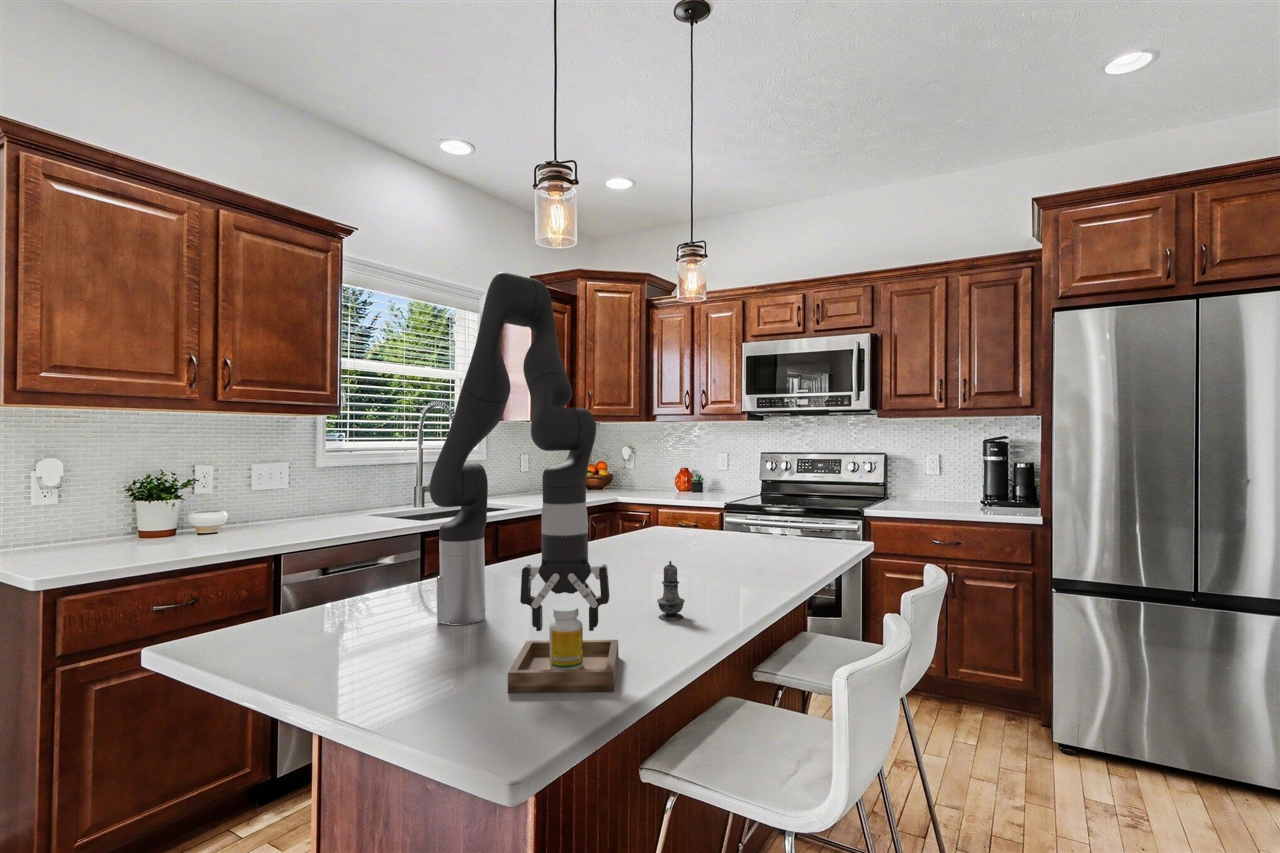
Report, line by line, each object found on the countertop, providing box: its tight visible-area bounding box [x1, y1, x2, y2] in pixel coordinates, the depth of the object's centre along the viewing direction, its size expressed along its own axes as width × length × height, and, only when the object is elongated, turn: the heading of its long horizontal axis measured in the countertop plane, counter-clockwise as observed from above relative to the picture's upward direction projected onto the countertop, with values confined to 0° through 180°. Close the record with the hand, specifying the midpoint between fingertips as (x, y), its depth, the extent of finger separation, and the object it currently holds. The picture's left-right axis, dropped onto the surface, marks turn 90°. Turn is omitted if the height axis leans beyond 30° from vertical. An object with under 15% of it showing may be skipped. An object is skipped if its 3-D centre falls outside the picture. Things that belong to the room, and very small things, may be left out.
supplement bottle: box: [549, 604, 584, 670], centre depth 111 cm, size 5×5×10 cm
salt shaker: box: [656, 560, 686, 622], centre depth 143 cm, size 6×6×12 cm
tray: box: [507, 639, 619, 694], centre depth 111 cm, size 16×16×3 cm
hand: (565, 629), depth 111 cm, fingers open, 8 cm apart
